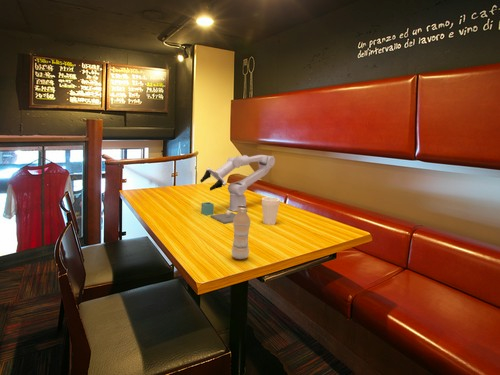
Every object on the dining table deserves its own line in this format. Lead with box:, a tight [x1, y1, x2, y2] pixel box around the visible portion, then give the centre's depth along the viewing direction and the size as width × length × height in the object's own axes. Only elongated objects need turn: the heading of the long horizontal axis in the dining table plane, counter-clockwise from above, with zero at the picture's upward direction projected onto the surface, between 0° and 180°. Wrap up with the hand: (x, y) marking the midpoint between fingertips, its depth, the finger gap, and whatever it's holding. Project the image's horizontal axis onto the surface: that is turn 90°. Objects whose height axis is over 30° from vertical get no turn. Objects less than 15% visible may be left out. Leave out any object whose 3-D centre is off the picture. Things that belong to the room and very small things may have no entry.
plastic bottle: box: [231, 205, 252, 260], centre depth 119 cm, size 6×7×20 cm
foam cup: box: [261, 196, 281, 226], centre depth 167 cm, size 10×9×13 cm
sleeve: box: [200, 201, 215, 216], centre depth 180 cm, size 5×5×6 cm
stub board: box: [209, 209, 237, 225], centre depth 173 cm, size 14×14×4 cm
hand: (205, 185), depth 178 cm, fingers open, 7 cm apart
